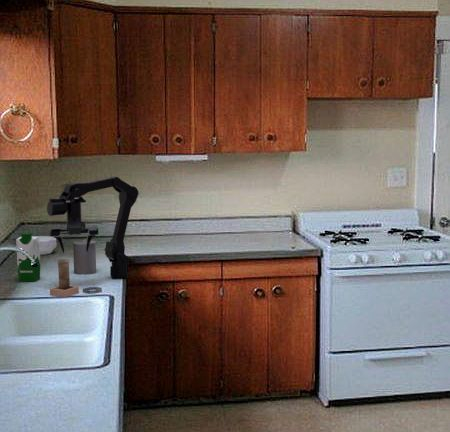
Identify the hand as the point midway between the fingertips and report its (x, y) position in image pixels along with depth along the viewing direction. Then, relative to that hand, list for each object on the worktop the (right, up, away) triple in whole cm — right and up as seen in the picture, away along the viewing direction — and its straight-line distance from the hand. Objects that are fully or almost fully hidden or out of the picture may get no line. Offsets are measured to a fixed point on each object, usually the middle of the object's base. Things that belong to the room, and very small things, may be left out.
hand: (75, 252), depth 264 cm
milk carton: (-21, -12, +9) cm, 26 cm away
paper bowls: (-34, -5, +71) cm, 79 cm away
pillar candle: (-1, -10, +24) cm, 26 cm away
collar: (-1, -15, -16) cm, 22 cm away
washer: (+9, -15, -12) cm, 21 cm away
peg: (0, -15, -16) cm, 22 cm away
